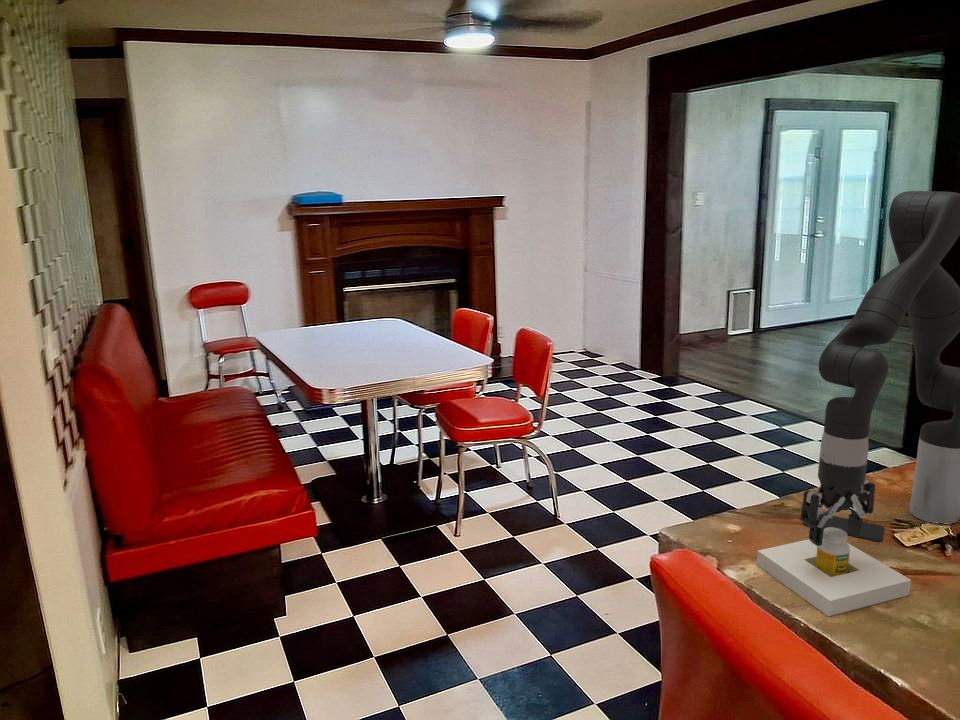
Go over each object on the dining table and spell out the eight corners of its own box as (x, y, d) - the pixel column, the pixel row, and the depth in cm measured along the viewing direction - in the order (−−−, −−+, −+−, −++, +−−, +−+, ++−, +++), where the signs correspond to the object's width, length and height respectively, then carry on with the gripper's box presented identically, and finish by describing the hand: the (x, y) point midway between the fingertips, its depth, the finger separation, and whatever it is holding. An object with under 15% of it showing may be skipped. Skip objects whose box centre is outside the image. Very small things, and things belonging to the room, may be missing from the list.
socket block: (830, 547, 144) (832, 534, 144) (909, 595, 128) (911, 580, 127) (756, 564, 139) (757, 550, 138) (828, 616, 122) (830, 600, 122)
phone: (807, 510, 160) (884, 526, 152) (807, 513, 160) (884, 529, 152) (801, 524, 154) (881, 541, 146) (801, 527, 154) (881, 544, 146)
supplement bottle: (824, 568, 137) (829, 522, 135) (852, 580, 133) (858, 533, 130) (808, 577, 134) (813, 530, 132) (835, 590, 130) (841, 542, 127)
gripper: (857, 443, 133) (849, 523, 137) (795, 455, 129) (788, 537, 133) (892, 458, 126) (881, 541, 130) (827, 470, 122) (818, 556, 126)
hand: (834, 539), depth 132 cm, fingers open, 8 cm apart
